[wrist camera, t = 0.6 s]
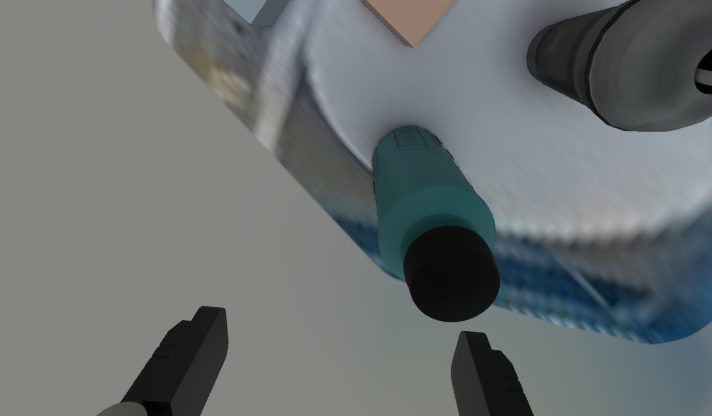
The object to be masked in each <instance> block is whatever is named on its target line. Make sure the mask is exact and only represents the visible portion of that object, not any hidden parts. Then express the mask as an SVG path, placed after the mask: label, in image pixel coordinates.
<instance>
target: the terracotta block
mask: <svg viewBox="0 0 712 416" xmlns="http://www.w3.org/2000/svg"><path fill="white" fill-rule="evenodd" d="M360 1H361V2H362V3H363V4H364V5H365V6H366V7H367V8H368V9H369V10H370V11H371V12H372V13H373V14H374V15H375V16H376V17H377V18H378V19H379V20H380V21H381V22H382V23H383V24H384V25H385V26H386V27H387V28H388V29H389V30H390V31H391V32H392V33H393V34H394V35H395V36H396V37H397V38H398V39H399V40H400V41H401V42H402V43H403V44H404V45H405V46H409V47H413V48H414V47H415V46H416V45H417V44H418V43H419V42H420V40H421V39H422V38H423V37H424V36H425V35H426V34H427V32H428V31H429V30H430V29H431V28H432V27H433V25H434V24H435V23H436V22H437V21H438V20H439V19H440V17H441V16H442V15H443V14H444V13H445V12H446V10H447V9H448V8H449V7H450V6H451V5H452V4H453V2H454V1H455V0H360Z"/></svg>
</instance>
